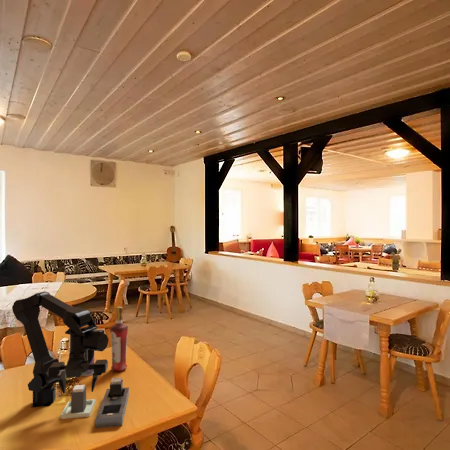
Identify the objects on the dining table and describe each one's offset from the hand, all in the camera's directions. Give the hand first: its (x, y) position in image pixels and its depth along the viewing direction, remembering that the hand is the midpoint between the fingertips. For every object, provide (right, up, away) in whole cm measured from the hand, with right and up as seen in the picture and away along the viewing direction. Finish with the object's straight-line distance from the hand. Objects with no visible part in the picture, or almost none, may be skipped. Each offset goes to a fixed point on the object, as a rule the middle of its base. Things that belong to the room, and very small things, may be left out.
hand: (78, 392), depth 119 cm
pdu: (+12, -7, 0) cm, 14 cm away
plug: (0, -6, 0) cm, 6 cm away
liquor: (+3, -7, +35) cm, 36 cm away
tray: (0, -7, 0) cm, 7 cm away
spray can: (-9, -7, +31) cm, 33 cm away
